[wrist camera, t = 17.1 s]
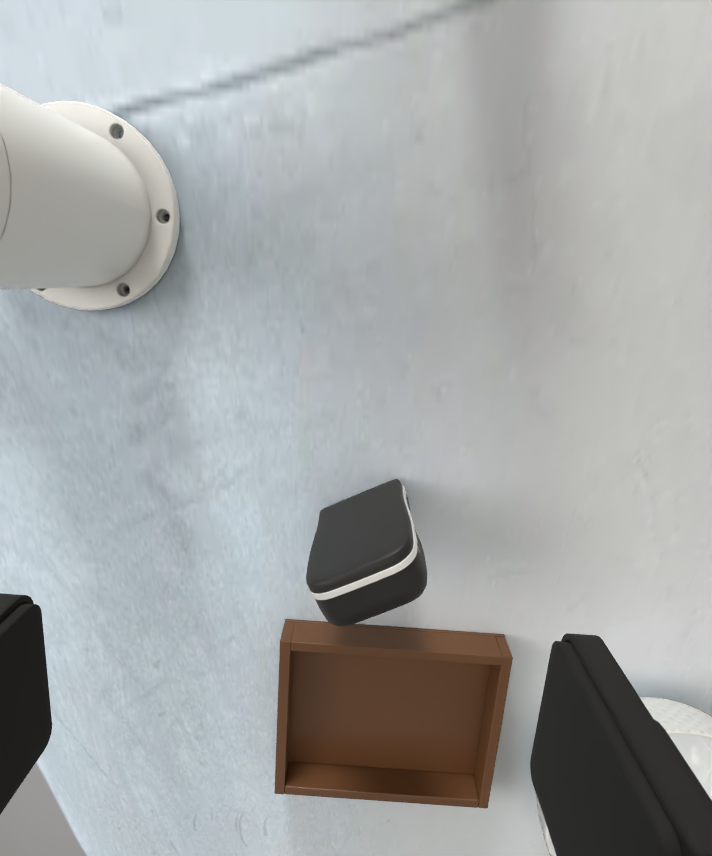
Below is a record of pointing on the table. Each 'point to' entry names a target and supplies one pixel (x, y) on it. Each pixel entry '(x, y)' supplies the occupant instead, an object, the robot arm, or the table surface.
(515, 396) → the table surface
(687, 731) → the cereal bowl
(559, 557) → the table surface
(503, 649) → the tray
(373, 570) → the battery charger
